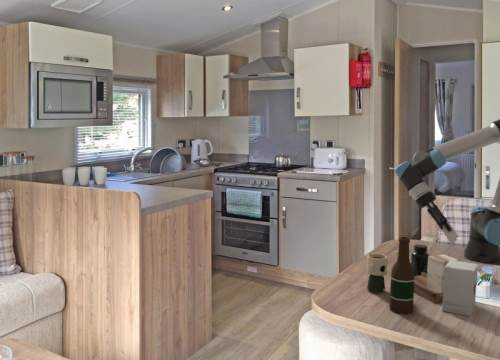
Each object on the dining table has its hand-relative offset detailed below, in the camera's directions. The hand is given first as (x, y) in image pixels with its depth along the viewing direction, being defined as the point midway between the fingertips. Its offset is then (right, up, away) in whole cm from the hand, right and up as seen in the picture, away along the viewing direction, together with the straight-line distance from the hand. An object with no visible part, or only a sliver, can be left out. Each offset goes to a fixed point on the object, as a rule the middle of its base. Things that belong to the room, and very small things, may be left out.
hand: (455, 240), depth 192 cm
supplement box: (-12, -19, -32) cm, 39 cm away
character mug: (-35, -16, -16) cm, 42 cm away
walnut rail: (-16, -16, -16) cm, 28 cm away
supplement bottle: (-14, -14, +1) cm, 20 cm away
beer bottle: (-31, -19, -32) cm, 49 cm away
